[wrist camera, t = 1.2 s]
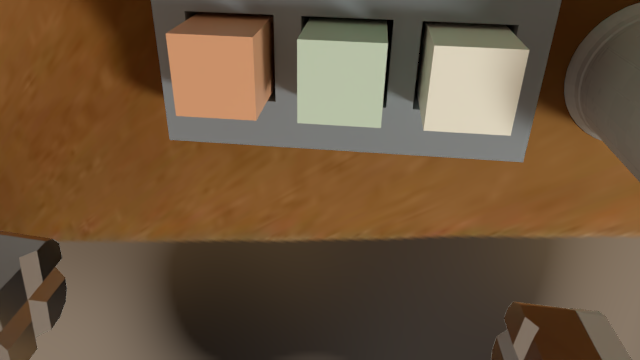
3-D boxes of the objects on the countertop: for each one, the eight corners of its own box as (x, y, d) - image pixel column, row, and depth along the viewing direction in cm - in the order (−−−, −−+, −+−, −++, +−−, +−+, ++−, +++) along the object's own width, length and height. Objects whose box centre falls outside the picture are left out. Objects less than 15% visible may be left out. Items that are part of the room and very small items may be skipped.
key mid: (386, 15, 28) (387, 43, 22) (381, 87, 29) (380, 128, 24) (313, 12, 28) (297, 39, 23) (312, 83, 30) (297, 122, 25)
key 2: (500, 20, 27) (529, 49, 22) (487, 92, 29) (510, 135, 24) (424, 17, 27) (434, 45, 22) (416, 89, 29) (423, 130, 24)
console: (540, -46, 28) (569, -35, 23) (504, 126, 32) (523, 162, 28) (179, -57, 29) (144, -48, 25) (196, 108, 34) (169, 139, 30)
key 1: (276, 10, 28) (252, 37, 23) (278, 81, 30) (256, 120, 25) (205, 8, 28) (165, 33, 23) (211, 78, 30) (175, 115, 25)
